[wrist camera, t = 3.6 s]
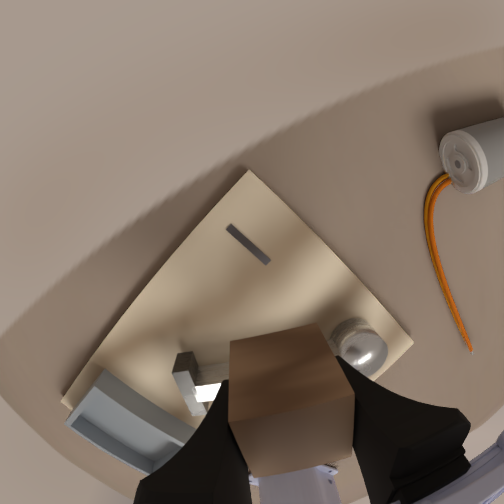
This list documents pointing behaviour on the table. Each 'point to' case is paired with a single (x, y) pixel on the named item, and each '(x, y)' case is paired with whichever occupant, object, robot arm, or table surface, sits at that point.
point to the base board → (233, 298)
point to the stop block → (289, 401)
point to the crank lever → (341, 340)
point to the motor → (465, 182)
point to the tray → (127, 425)
